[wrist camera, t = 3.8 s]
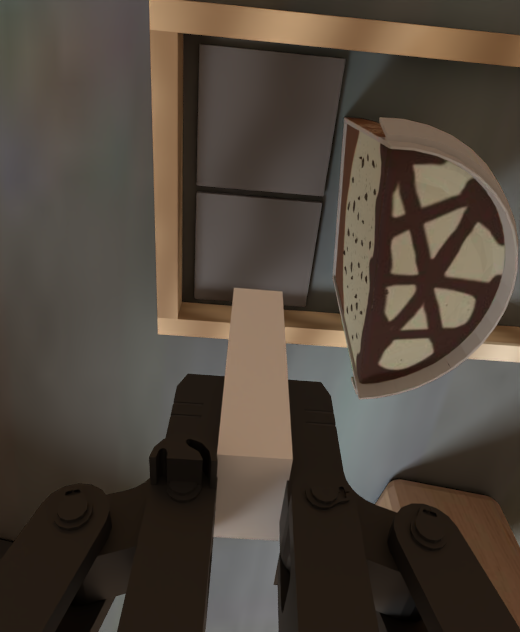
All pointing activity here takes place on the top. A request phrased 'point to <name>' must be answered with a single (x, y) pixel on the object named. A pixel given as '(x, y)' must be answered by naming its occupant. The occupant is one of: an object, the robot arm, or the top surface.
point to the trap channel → (268, 154)
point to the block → (470, 531)
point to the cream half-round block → (417, 253)
